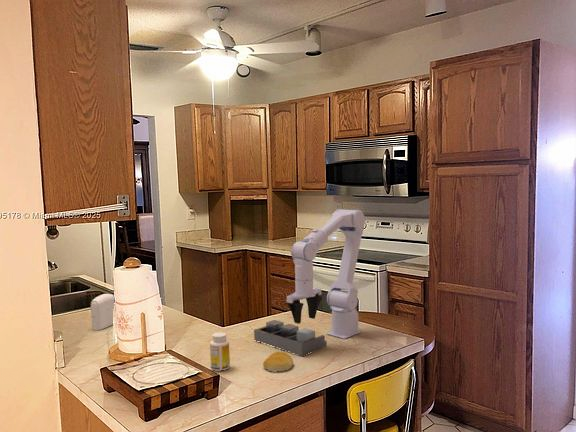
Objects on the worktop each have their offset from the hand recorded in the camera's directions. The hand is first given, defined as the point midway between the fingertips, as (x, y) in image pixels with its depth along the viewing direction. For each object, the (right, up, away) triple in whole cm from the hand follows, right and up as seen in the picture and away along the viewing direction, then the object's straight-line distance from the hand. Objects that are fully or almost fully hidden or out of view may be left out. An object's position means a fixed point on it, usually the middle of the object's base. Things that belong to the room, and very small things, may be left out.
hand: (304, 320), depth 161 cm
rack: (-5, -9, +6) cm, 12 cm away
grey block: (0, -8, 0) cm, 8 cm away
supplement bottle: (-25, -11, -14) cm, 31 cm away
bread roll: (-8, -11, -13) cm, 19 cm away
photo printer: (-76, -9, +29) cm, 81 cm away
